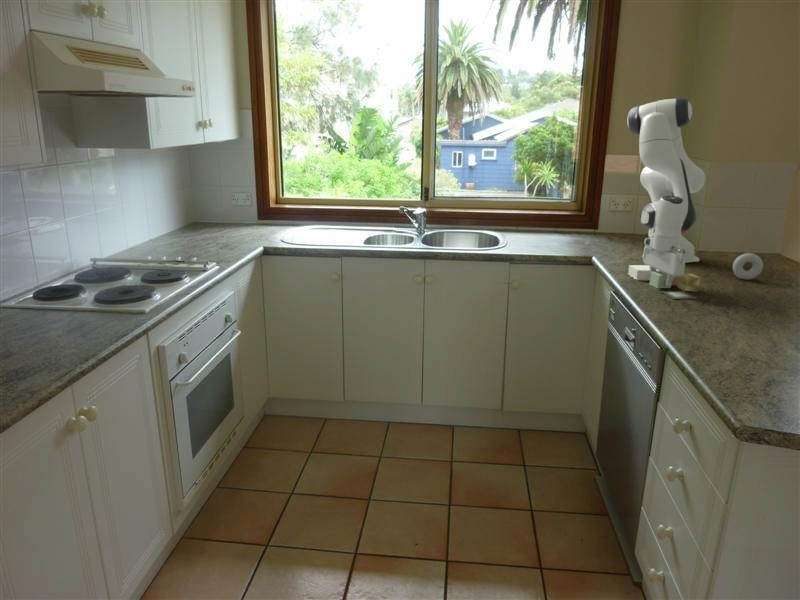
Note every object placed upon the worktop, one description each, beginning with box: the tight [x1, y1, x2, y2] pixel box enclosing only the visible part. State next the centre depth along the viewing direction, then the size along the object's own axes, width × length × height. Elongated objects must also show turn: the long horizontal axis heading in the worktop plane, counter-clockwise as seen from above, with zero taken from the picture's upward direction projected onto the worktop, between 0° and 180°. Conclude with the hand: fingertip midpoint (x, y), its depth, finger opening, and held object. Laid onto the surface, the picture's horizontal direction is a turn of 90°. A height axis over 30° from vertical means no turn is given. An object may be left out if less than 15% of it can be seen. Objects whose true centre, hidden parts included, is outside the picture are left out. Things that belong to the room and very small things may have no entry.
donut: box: [732, 252, 764, 281], centre depth 222 cm, size 10×4×10 cm, turn 77°
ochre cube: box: [676, 273, 702, 292], centre depth 209 cm, size 5×5×5 cm
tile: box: [661, 290, 697, 300], centre depth 202 cm, size 8×8×1 cm
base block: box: [627, 264, 660, 281], centre depth 224 cm, size 8×8×4 cm
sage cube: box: [649, 271, 672, 289], centre depth 211 cm, size 5×5×5 cm
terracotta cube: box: [659, 270, 678, 286], centre depth 216 cm, size 5×5×5 cm
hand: (660, 282), depth 212 cm, fingers open, 7 cm apart
